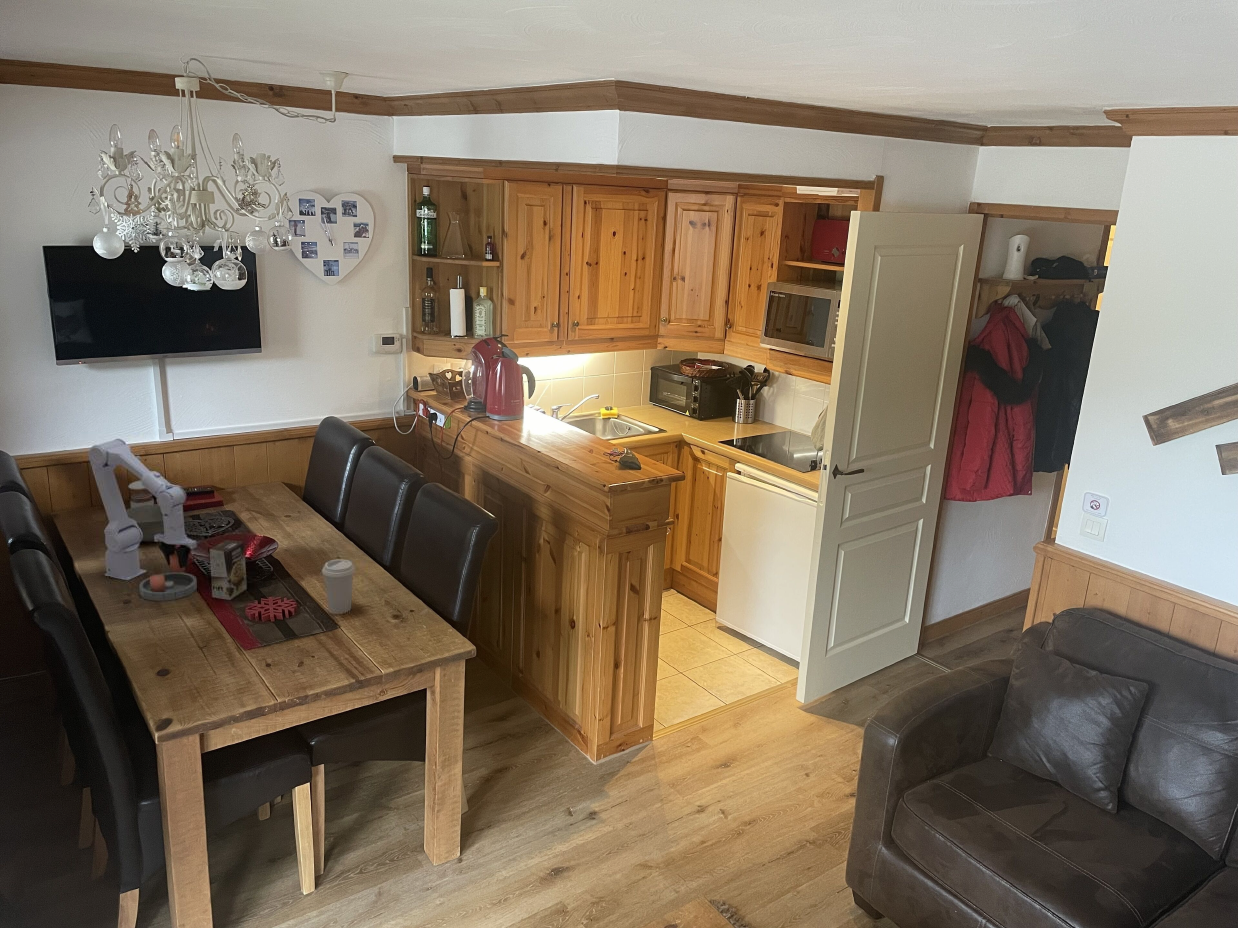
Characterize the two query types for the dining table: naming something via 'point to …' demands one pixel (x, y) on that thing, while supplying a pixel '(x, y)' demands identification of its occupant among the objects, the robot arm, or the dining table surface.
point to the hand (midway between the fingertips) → (177, 565)
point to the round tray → (170, 594)
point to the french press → (140, 494)
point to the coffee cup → (338, 585)
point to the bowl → (148, 520)
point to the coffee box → (228, 569)
